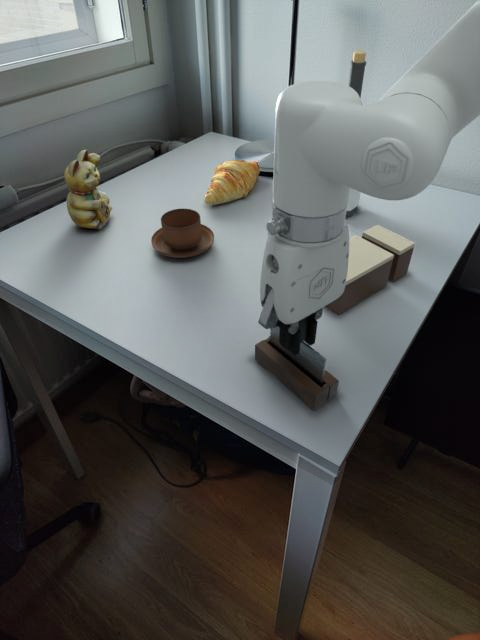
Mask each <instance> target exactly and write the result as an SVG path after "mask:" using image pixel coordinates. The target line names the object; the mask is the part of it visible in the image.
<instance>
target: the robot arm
mask: <svg viewBox="0 0 480 640" xmlns="http://www.w3.org/2000/svg"><path fill="white" fill-rule="evenodd" d="M361 103H362V100H361V98H360V97H359V95H358V93H357V92H356V91H355V90H354V89H353V88H351V87H349V85H346V84H345V83H344V84H343V83H340V82H336V81H331V80H309V81H301V82H297V83H294V84H290V85H289V86H287V87H285V88H284V89H283V90H282V91H281V92H280V94H279V95H278V97H277V100H276V105H275V113H274V114H275V115H274V142H273V144H274V146H273V148H274V149H273V171H272V172H273V173H272V174H273V176H272V177H273V178H272V206H271V207H272V211H271V221H268V222H267V223H266V230H267V233H268V234H267V238H266V241H265V246H264V251H263V257H262V263H261V270H260V271H261V272H260V283H259V284H260V285H259V297H260V299H259V301H260V306H261V307H262V310H261V312H260V315H259V318H258V321H257V322H258V324H259V325H260V326H262V327H263V328H264V329H265V330H269V329H271V328H276V327H279V328H280V333H279V342H280V344H281V346H282V347H284V348H285V349H287V350H289V351H290V352H291V353H292V354H293V355H297V354H298V353H299V351H300V341H301V331H300V330H299V329H298V325H299V321H300V320H302V319H303V318H305V317H307V316H309V315H311V318H310V326H309V335H308V339H306V340H304V342H305V343H306V344H308V345H309V346H313V345H314V344H315V343H316V337H317V331H318V330H317V329H318V320H319V319H321V318H322V316H323V311H324V307H326V305H328V304H329V303H331V302H333V301H334V300H336V299H337V298H339V297H340V296H341V295H342V294H343V292H344V289H345V285H346V279H347V271H348V261H349V239H350V232H349V223H348V222H347V220H346V218H347V217H346V211H347V204H348V198H349V191H350V188H352V189H354V190H357V191H359V192H361V193H362V194H365V195H367V196H369V197H373V198H376V199H379V200H385V201H403V200H408V199H411V198H414V197H415V196H417V195H419V194H421V193H422V192H424V191H425V190H426V189H427V188H428V187H429V186H430V185H431V184H432V182H433V181H435V179H436V177H437V175H438V173H439V172H440V169H441V167H442V164H443V162H444V159H445V157H446V155H447V152H448V149H449V147H450V144H451V142H452V139H454V138H455V137H456V136H457V134H459V133H460V132H461V131H462V130H463V129H465V128H466V127H467V126H468V125H470V124H471V123H472V122H473V121H474V120H476V119H477V118H478V117H480V0H476V2H475V3H473V5H472V6H471V7H470V8H469V9H468V10H466V12H465V13H464V14H463V15H462V16H461V17H460V18H458V20H457V21H455V23H454V24H453V25H452V26H450V28H449V29H448V30H447V31H446V32H445V33H444V34H442V35H441V37H440V38H439V39H438V40H437V41H436V42H435V43H434V44H433V45H432V46H431V47H430V48H429V49H427V51H426V52H424V54H422V55H421V57H420V58H419V59H418V60H417V61H415V63H414V64H413V65H412V66H411V67H410V68H409V69H408V70H407V71H405V73H404V74H403V75H402V76H400V77H399V78H398V80H396V81H395V82H394V84H392V85H391V86H390V87H389V88H388V89H387V91H386V92H385V93H383V95H382V96H380V98H379V99H378V100H377V101H375V102H374V101H373V102H371V103H369V104H362V105H361Z"/></svg>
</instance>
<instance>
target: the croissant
mask: <svg viewBox="0 0 480 640" xmlns="http://www.w3.org/2000/svg"><path fill="white" fill-rule="evenodd" d="M258 163H259V164H260V162H259V161H256V160H253V161H246V160H244V159H232V160H227V161H224V162H222V163H220V164H218V166H217V167H216V168H215V169H214V170H213V176H212V178H211V180H210V185H209V186H208V187H207V192H206V194H205V195H204V203H205V204H206V205H211V206H212V205H213V206H214V205H220V204H226V203H228V202H232V201H236V200H239V199H243V198H246V197H247V196H248V194H249V193H250V192H252V190H253V189H254V188H255V185H256V182H257V180H258V177H259V175H260V172H261V170H260V171H259V168H260V166H259V165H258Z"/></svg>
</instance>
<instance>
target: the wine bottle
mask: <svg viewBox="0 0 480 640" xmlns="http://www.w3.org/2000/svg"><path fill="white" fill-rule="evenodd" d="M366 56H367V52H366V51H364V50H355V51H353V55H352V60H350V71H349V79H348V86H349V87H351V88H353V89H354V90H355V91H356V92H357V93H358V95H359V97H360V99H361V97H362V91H363V84H364V77H365V69H366V66H367V61H366ZM361 105H363V104H362V102H361ZM361 193H362V192H359V191H357V190H354V189H352V188H350V191H349V198H348V204H347V211H346V218H350V217H352V216H353V215H355V214H357V212H358V209H359V204H360V198H361Z"/></svg>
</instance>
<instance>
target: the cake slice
mask: <svg viewBox="0 0 480 640" xmlns="http://www.w3.org/2000/svg"><path fill="white" fill-rule="evenodd" d="M361 238H363V239H365V240H367V241H369V242H371V243H372V244H374V245H376V246H378V247H380V248H382V249H384V250H386V251H388V252H390V253H392V254H393V255H394V257H393V262H392V266H391V270H390V274H389V278H388V282H389V281H390V282H391V283H394V282H396V281H398V280H399V279H401V278H403V277H404V276H406V275H407V274H408V271H409V268H410V263H411V260H412V256H413V253H414V249H415V246H416V242H414V241H412V240H410V239H408V238H407V237H404V236H402V235H400V234H398V233H395V232H393V231H392V230H390V229H388V228H386V227H383V226H382V225H379V224H376V225H373V226H372V227H370V228H368V229H366V230H364V231H362V233H361Z"/></svg>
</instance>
